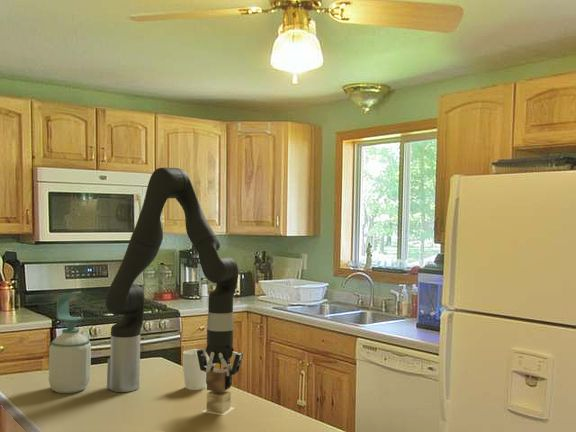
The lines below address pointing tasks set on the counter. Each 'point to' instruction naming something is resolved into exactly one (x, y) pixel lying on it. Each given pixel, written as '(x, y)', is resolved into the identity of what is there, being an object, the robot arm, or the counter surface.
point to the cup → (193, 370)
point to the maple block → (218, 401)
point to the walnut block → (216, 380)
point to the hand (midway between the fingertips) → (218, 386)
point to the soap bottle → (69, 353)
